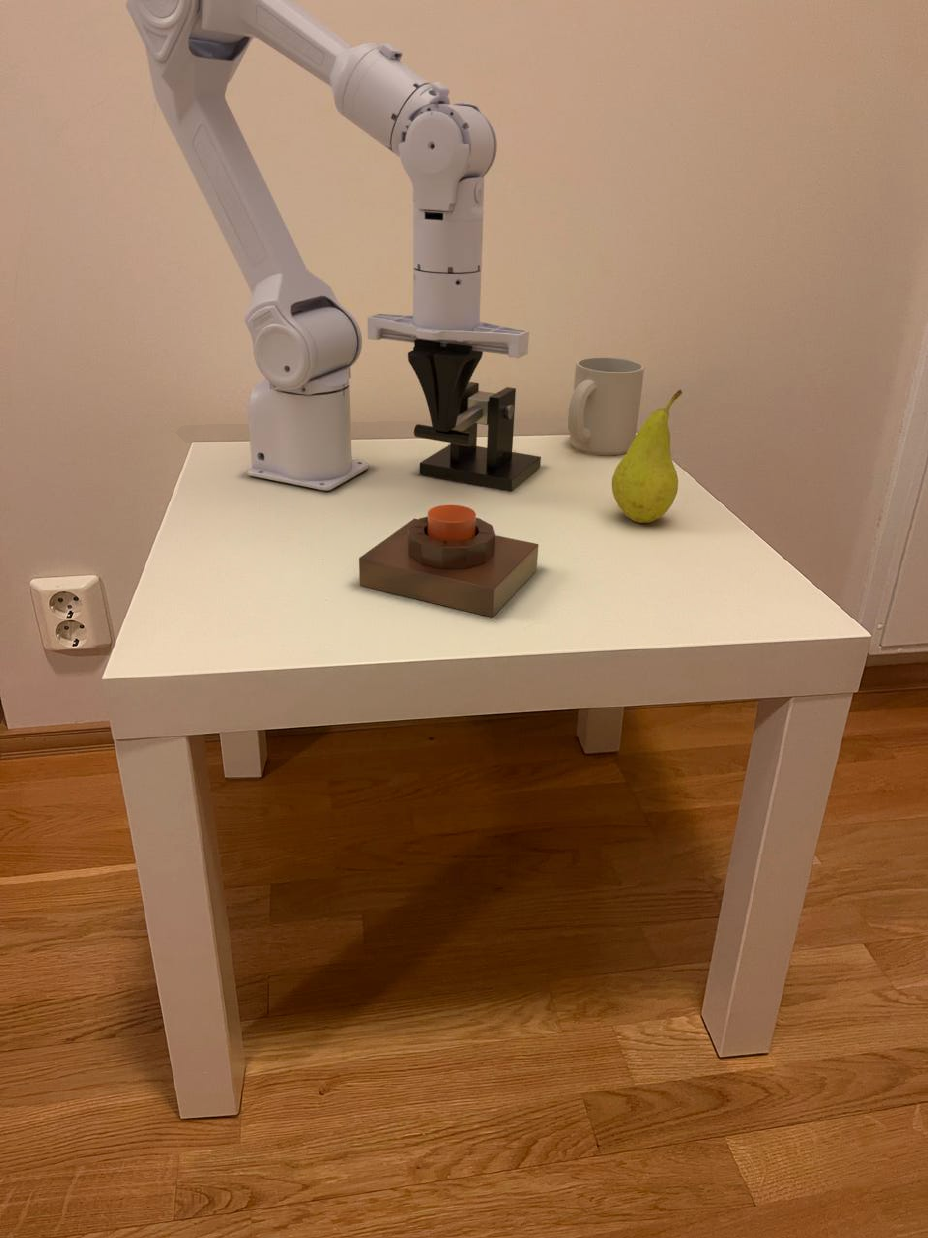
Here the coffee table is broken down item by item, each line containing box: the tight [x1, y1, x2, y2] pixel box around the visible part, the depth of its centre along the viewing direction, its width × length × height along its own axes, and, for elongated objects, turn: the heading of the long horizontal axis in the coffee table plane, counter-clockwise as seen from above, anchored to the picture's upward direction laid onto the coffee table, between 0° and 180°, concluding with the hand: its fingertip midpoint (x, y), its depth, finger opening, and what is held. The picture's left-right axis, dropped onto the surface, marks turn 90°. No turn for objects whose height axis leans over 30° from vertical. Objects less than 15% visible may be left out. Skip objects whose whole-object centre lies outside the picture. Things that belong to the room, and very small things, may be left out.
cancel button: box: [427, 504, 477, 541], centre depth 68 cm, size 4×4×2 cm
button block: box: [358, 516, 540, 618], centre depth 69 cm, size 11×9×4 cm
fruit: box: [611, 389, 683, 524], centre depth 79 cm, size 6×6×12 cm
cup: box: [567, 356, 645, 456], centre depth 98 cm, size 7×10×9 cm
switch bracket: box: [419, 381, 542, 492], centre depth 91 cm, size 8×10×8 cm
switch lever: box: [413, 390, 497, 446], centre depth 86 cm, size 11×6×2 cm, turn 155°
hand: (444, 428), depth 82 cm, fingers closed, pressing on switch lever
